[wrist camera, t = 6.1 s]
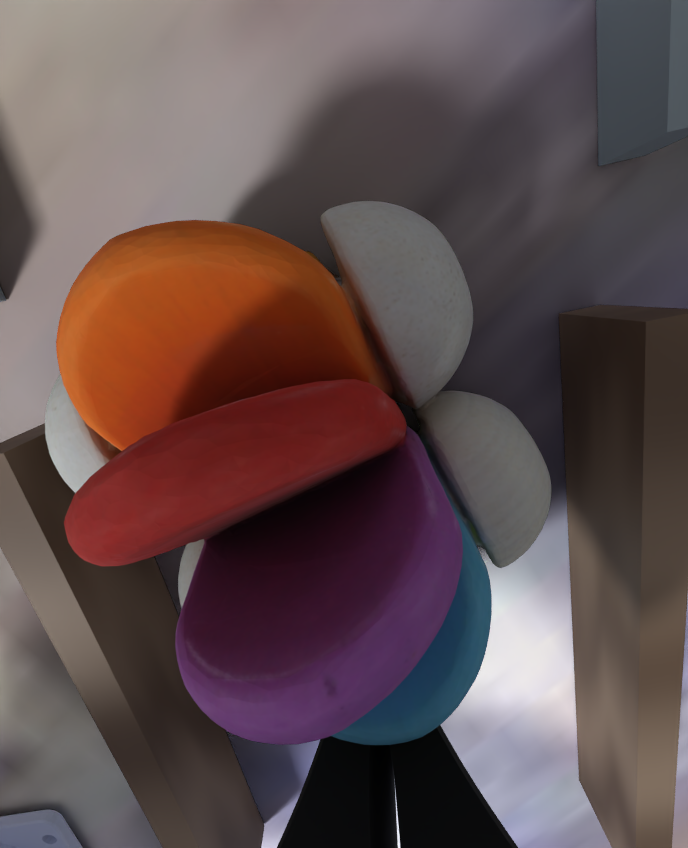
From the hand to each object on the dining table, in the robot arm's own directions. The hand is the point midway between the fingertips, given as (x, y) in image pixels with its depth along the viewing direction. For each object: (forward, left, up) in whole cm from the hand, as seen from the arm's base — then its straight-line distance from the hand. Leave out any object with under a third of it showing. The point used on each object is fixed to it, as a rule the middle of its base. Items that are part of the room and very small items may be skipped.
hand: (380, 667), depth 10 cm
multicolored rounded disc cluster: (+6, +1, -3) cm, 6 cm away
